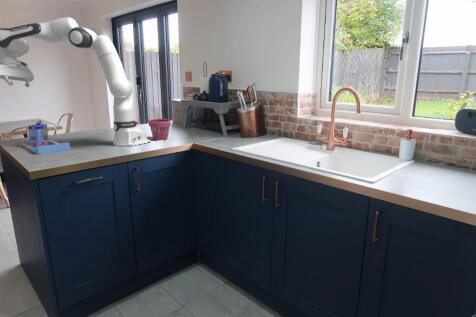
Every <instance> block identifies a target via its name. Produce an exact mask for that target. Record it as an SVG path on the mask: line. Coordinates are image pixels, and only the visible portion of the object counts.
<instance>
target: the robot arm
mask: <svg viewBox="0 0 476 317" xmlns="http://www.w3.org/2000/svg"><path fill="white" fill-rule="evenodd" d="M27 38H35V39H38V40H43V41H45V42H48V43H55V44H56V43H60V42H64V41H66V40H69V43H70V44H71V45H73V46H74V47H76V48H78V49H84V50H85V49H86V50H88V49H89V50H91V49H92V50H93V51H94V52H95V54H96V57H97V59H98V62H99V64H100V66H101V69H102V70H103V74H104V77H105V79H106V83H107V85H108V88H109V92H110V93H111V94H112V96H113V106H112V107H113V110H112V111H113V130H114V136H113V137H114V138H113V143H112V144H113V145H112V146H116V147H117V146H118V147H119V146H120V147H136V146H140V145H139V144H141V145H145V144H149V143H148V142H150V143H152V142H151V139H148V137H147V136H148V135H147V133H146V132H145V131H144V130H143V129H141V128H140V127H138V126H137V125H140V121H138V120H134V108H133V107H134V101H133V100H134V89H133V88H134V86H133V84H132V82H131V81H130V80H129V79H127V76H126V73H125V69H124V66H123V63H122V61H121V59H120V56H119V54H118V52H117V49H116V47H115V45H114V43H113V42H112V40H111V39H110V37H109V36H108V35H105V34H100V35H99V34H98V33H97V31H96V30H93V29H91V28H87V27H83V26H82V27H80V26H79V24H78V23H77V21H76V20H75V19H74V18H72V17H70V16H69V17H68V16H67V17H66V16H65V17H61V18H56V19H53V20H49V21H45V22H38V23H37V22H36V23H27V24H22V25H19V26H14V27H8V28H7V27H0V79H2V80H3V81H5V83H6V84H7V85H8V86H13V82H12V81H19V82H21V81H22V82H25V84H24V86H25V87H26V88H29V87H30V83H33V81H34V80H35V75H34V73H33V71H32V70H31V69H30V68H29V64H28V63H27V62H25V61H22V60H19V59H18V58H20V57H21V56H25V55H26V54H27V53H28V51H29V49H30V47H29V46H30V45H29V42H28V41H27V40H26V39H27ZM144 143H145V144H144ZM135 145H136V146H135Z"/></svg>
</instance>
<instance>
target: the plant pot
mask: <svg viewBox="0 0 476 317" xmlns="http://www.w3.org/2000/svg"><path fill="white" fill-rule="evenodd" d="M148 126H149V128H150V132H151V135H152V139H153V140H154V141H157V140H163V141H166V140H165V139H167V140H168V139H169V138H168V137H169V133H170V128H171V126H172V120H171V119H168V118H153V119H149V120H148Z"/></svg>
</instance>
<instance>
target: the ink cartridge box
mask: <svg viewBox="0 0 476 317" xmlns="http://www.w3.org/2000/svg"><path fill="white" fill-rule="evenodd" d="M27 128H28V135H29V144H30V145H29V146H32V147H34V148H38V146H46V145H50V144H49V143H50V142H49V133H48V124H47V123H42V120H38V121H36V124H31V125H28V126H27Z"/></svg>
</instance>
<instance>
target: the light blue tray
mask: <svg viewBox="0 0 476 317" xmlns="http://www.w3.org/2000/svg"><path fill="white" fill-rule="evenodd" d="M48 142H49V143H51V144H47V145H43V146H38V147H32V146H30V145H29V144H25V143H24V142H21V141H20V142H19V145H20V147H22V148H24V149H26V150H29V151H30V152H32V153H34V154H36V155H43V154H44V155H45V154H50V153H57V152H58V153H59V152H63V151H64V152H65V151H70V150H71V143H70V142H62V143H61V142H56V141H54V140H52V139H48Z"/></svg>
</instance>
